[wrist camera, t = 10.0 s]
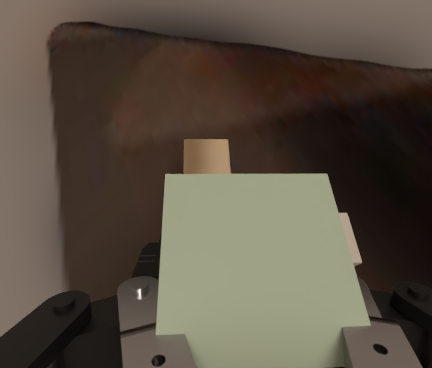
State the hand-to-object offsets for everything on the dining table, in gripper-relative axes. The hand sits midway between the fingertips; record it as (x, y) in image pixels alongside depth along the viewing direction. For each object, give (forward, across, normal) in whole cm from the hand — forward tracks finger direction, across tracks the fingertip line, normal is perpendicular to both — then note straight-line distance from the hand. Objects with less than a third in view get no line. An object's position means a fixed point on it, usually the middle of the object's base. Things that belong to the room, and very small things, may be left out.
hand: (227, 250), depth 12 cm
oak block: (+23, 0, +5) cm, 24 cm away
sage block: (+2, 0, +4) cm, 5 cm away
